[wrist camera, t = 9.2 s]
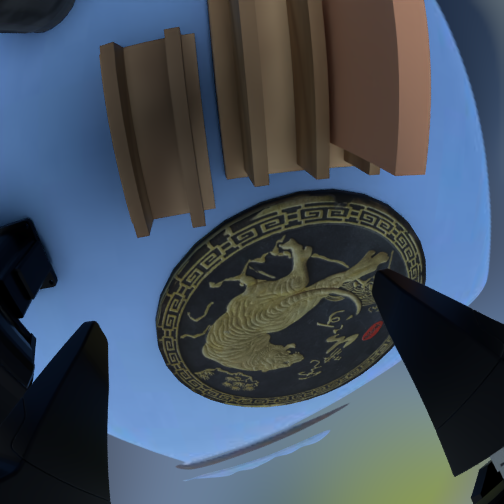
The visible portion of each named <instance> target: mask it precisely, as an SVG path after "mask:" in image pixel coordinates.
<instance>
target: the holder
mask: <svg viewBox="0 0 504 504" xmlns="http://www.w3.org/2000/svg"><path fill="white" fill-rule="evenodd" d="M164 34H165V38H163V39H158V40H153V41H148V42H144V43H140V44H136V45H132V46H128V47H124V48H123V47H121V46H120V45H118V44H116V43H114V42H111V43H108V44H105V45H102V46H100V55H99V56H100V66H101V75H102V83H103V90H104V97H105V104H106V110H107V116H108V122H109V127H110V133H111V138H112V143H113V148H114V153H115V157H116V162H117V166H118V171H119V175H120V179H121V183H122V187H123V191H124V195H125V199H126V203H127V206H128V210H129V214H130V217H131V221H132V223H133V225H134V228H135V231H136V235H137V238H140V237H145V236H149V235H150V231H151V227H152V223H153V219H158V218H163V217H168V216H174V215H179V214H185V213H190V215H191V221H192V226H193V228H195V227H201V226H206V223H205V214H204V210H208V209H214V208H215V201H214V194H213V187H212V180H211V173H210V165H209V158H208V150H207V143H206V135H205V127H204V119H203V110H202V102H201V93H200V84H199V75H198V66H197V56H196V46H195V35H194V33H193V34H186V35H181V33H180V28H179V27H176V28H170V29H165V30H164Z"/></svg>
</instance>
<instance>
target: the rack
mask: <svg viewBox="0 0 504 504" xmlns="http://www.w3.org/2000/svg"><path fill="white" fill-rule="evenodd" d="M321 1H323V0H207V4H208V15H209V26H210V37H211V47H212V58H213V68H214V78H215V87H216V97H217V106H218V115H219V124H220V133H221V142H222V151H223V159H224V168H225V176H226V178H227V179H234V178H241V177H248V176H249V178H250V180H251V181H252V183H253V185H254V186H255V187H258V186H265V185H269V174H272V173H281V172H290V171H300V170H305V171H307V172H308V173H309V174H310V175H312V176H313V177H314V178H315V179H327V178H329V168H334V167H348V166H355V167H356V168H358V169H360V170H362V171H363V172H365V173H367V174H368V175H378V174H380V167H378V166H376V165H374V164H372V163H370V162H368V161H366V160H365V159H363V158H361V157H359V156H357V155H355V154H353V153H351V152H349V151H346V150H344V149H342V148H340V147H338V146H336V145H334V144H332V143H330V126H329V90H328V70H327V54H326V41H325V30H324V20H323V10H322V2H321Z"/></svg>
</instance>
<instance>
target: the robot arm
mask: <svg viewBox="0 0 504 504" xmlns="http://www.w3.org/2000/svg"><path fill="white" fill-rule="evenodd" d="M26 224H28V226H27V225H26ZM51 280H52V281H53V282H52V281H51ZM56 284H57V278H56V276H55V274H54V272H53V270H52V268H51V265H50V263H49V261H48V259H47V256H46V254H45V252H44V250H43V247H42V245H41V243H40V241H39V238H38V236H37V233H36V231H35V228H34V226H33V223H32V221H31V220H30V219H28V218H26V219H23V220H20V221H17V222H14V223H11V224H8V225H5V226H2V227H0V504H111V502H110V493H109V479H108V478H109V477H108V457H107V456H108V454H107V453H108V452H107V421H108V395H109V373H108V341H107V338H106V337H105V335H104V333H103V331H102V330H101V328H100V326H99V324H98V323H97V322H96V321H88V322H84V323H83V324H82V325H81V326H80V327H79V328H78V330H77V331H76V332H75V333H74V334H73V335H72V336H71V338H70V339H69V340H68V341H67V342H66V343H65V344H64V346H63V347H62V348H61V349H60V350H59V352H58V353H57V354H56V355H55V356H54V358H53V359H52V360H51V361H50V362H49V364H48V365H47V366H46V367H45V368H44V370H43V371H42V372H41V373H40V375H39V376H38V377H37V378H36V380H35V381H34V382H33V376H34V370H35V364H34V359H35V346H36V338H35V337H34V335H33V334H32V333H31V334H30V332H29V331H28V330H27V329H26V328H25V327H24V325H23V324H22V323H21V322H20V320H19V319H20V318H23V317H24V315H25V313H26V311H27V309H28V307H29V305H30V303H31V301H32V300H33V299H35V297H36V295H37V293H38V291H39V289H44V288H50V287H54V286H56ZM372 296H373V298H374V301H375V303H376V305H377V308H378V310H379V312H380V315H381V317H382V319H383V322H384V324H385V326H386V329H387V331H388V333H389V335H390V337H391V339H392V341H393V343H394V345H395V347H396V348H397V350H398V352H399V354H400V356H401V358H402V360H403V362H404V363H405V366H406V368H407V370H408V372H409V374H410V376H411V378H412V380H413V382H414V384H415V386H416V388H417V390H418V392H419V394H420V397H421V398H422V401H423V403H424V405H425V407H426V409H427V412H428V414H429V416H430V418H431V421H432V423H433V425H434V427H435V430H436V432H437V435H438V437H439V440H440V442H441V445H442V447H443V449H444V452H445V455H446V457H447V459H448V462H449V464H450V467H451V470H452V473H453V475H454V476H455V477H456V476H458V475H459V474H461V473H463V472H465V471H467V470H468V469H470V468H472V467H473V466H475V465H477V464H478V463H480V462H482V461H483V460H485V459H487V458H488V457H490V458H491V460H490V461H489V462H488V463H487V464H485V465H484V466H483V467H482V468H481V469H480V470H479V472H478V476H477V479H476V483H475V486H474V490H473V493H472V496H471V499H472V502H473V504H504V324H502V323H500V322H498V321H495V320H493V319H491V318H489V317H487V316H485V315H483V314H481V313H479V312H477V311H476V310H473V309H471V308H469V307H468V306H466V305H464V304H462V303H460V302H458V301H456V300H454V299H452V298H450V297H448V296H446V295H444V294H441V293H439V292H437V291H435V290H433V289H431V288H429V287H427V286H425V285H423V284H421V283H419V282H417V281H414V280H412V279H410V278H408V277H406V276H404V275H402V274H400V273H397V272H395V271H393V270H391V269H389V268H385V269H381V270H378V271H377V272H376V273H375V277H374V282H373V287H372ZM32 382H33V383H32Z"/></svg>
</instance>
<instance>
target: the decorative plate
mask: <svg viewBox="0 0 504 504" xmlns="http://www.w3.org/2000/svg"><path fill="white" fill-rule="evenodd" d="M385 268H389V269H391V270H393V271H395V272H397V273H400V274H402V275H404V276H406V277H408V278H410V279H412V280H414V281H417V282H419V283H421V284H423V285H425V281H426V261H425V256H424V252H423V249H422V245H421V242H420V240H419V238H418V237H417V235H416V233H415V232H414V230H413V229H412V227H411V225H410V224H409V223H408V222H407V221H406V220H405V219H404V218H403V217H402V216H401V215H399V214H398V213H397V212H396V211H395V210H394V209H392V208H391V207H390V206H389V205H387V204H385V203H383V202H381V201H378V200H376V199H374V198H372V197H369V196H367V195H365V194H360V193H354V192H348V191H341V190H335V189H332V190H317V191H303V192H296V193H292V194H289V195H285V196H282V197H278V198H275V199H271V200H268V201H264V202H261V203H259V204H257V205H255V206H253V207H251V208H249V209H247V210H245V211H243V212H241V213H239V214H237V215H235V216H233V217H231V218H229V219H227V220H225V221H224V222H223V223H221V224H220V225H219V226H217V227H216V228H215V229H213V230H212V231H211V232H210V233H208V234H207V235H206V236H205V237H203V238H202V239H201V240H199V241H198V242H197V243H196V244H195V245H194V246H193V247H192V248H191V249H190V250H189V252H188V253H187V254H186V255H185V256H184V258H183V259H182V260H181V261H180V262H179V263H178V265H177V266H176V267H175V268H174V269H173V271H172V273H171V275H170V277H169V279H168V281H167V283H166V285H165V287H164V289H163V291H162V293H161V295H160V300H159V305H158V310H157V315H156V329H157V339H158V346H159V350H160V352H161V354H162V357H163V359H164V361H165V364H166V366H167V367H168V368H169V369H170V371H171V372H172V373H173V374H174V376H175V377H176V378H177V379H178V380H179V381H180V382H181V383H182V384H184V385H185V386H186V387H188V388H189V389H190V390H192V391H193V392H195V393H197V394H199V395H201V396H203V397H206V398H208V399H210V400H213V401H217V402H220V403H224V404H228V405H235V406H243V407H272V406H280V405H288V404H292V403H297V402H301V401H305V400H309V399H312V398H314V397H317V396H320V395H323V394H326V393H328V392H330V391H332V390H335V389H337V388H339V387H341V386H343V385H345V384H347V383H348V382H350V381H352V380H353V379H355V378H357V377H358V376H360V375H361V374H363V373H364V372H365V371H367V370H368V369H369V368H371V367H372V366H373V365H375V364H376V363H377V362H378V361H379V360H380V359H381V358H383V357H384V356H385V355H386V354H387V353H388V352H389V351H390V350H391V349H392V348H393V346H394V343H393V341H392V339H391V337H390V335H389V333H388V331H387V329H386V326H385V324H384V322H383V319H382V317H381V315H380V312H379V310H378V308H377V305H376V303H375V301H374V298H373V296H372V287H373V282H374V277H375V273H376V272H377V271H378V270H381V269H385Z"/></svg>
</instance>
